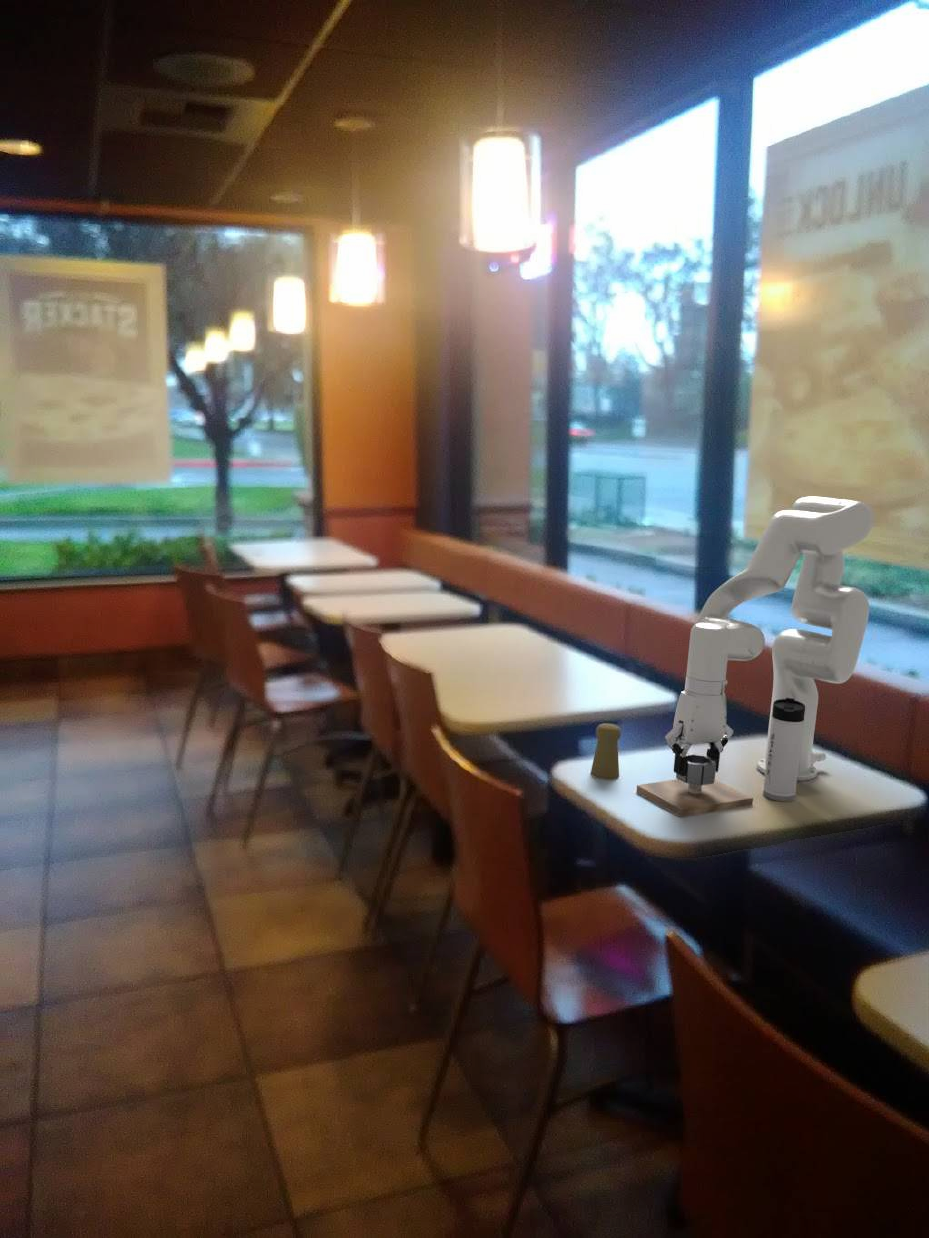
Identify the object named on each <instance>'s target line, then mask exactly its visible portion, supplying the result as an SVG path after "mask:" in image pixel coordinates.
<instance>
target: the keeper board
mask: <svg viewBox="0 0 929 1238" xmlns="http://www.w3.org/2000/svg"><path fill="white" fill-rule="evenodd" d="M636 793H637V794H639V795H640V796H643V797H644V798H646V799H648V800H650V801H651V802H653V803H655V804H657V805H659V806H661V807H663V808H664V809H666V810H668V811H669V812H671V813H673V814H675V815H676V816H678V817H680V818H682V817H683V818H684V817H689V816H690V817H691V816H696V815H702V814H707V813H713V812H718V811H725V810H732V809H737V808H742V807H749V806H753V803H754V797H752V796H750V795H748V794H746V793H743V792H742V791H740V790H738V789H736V788H734V787H732V786H730V785H727V784H726V783H723V782H721V781H720V780H717V779H715V781H714V783H713V784H708V785H695V784H688V783H684V782H682V781H680V780H679V779H677V778H675V779H670V780H663V781H658V782H657V781H656V782H649V783H648V782H647V783H643V784H636Z"/></svg>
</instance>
